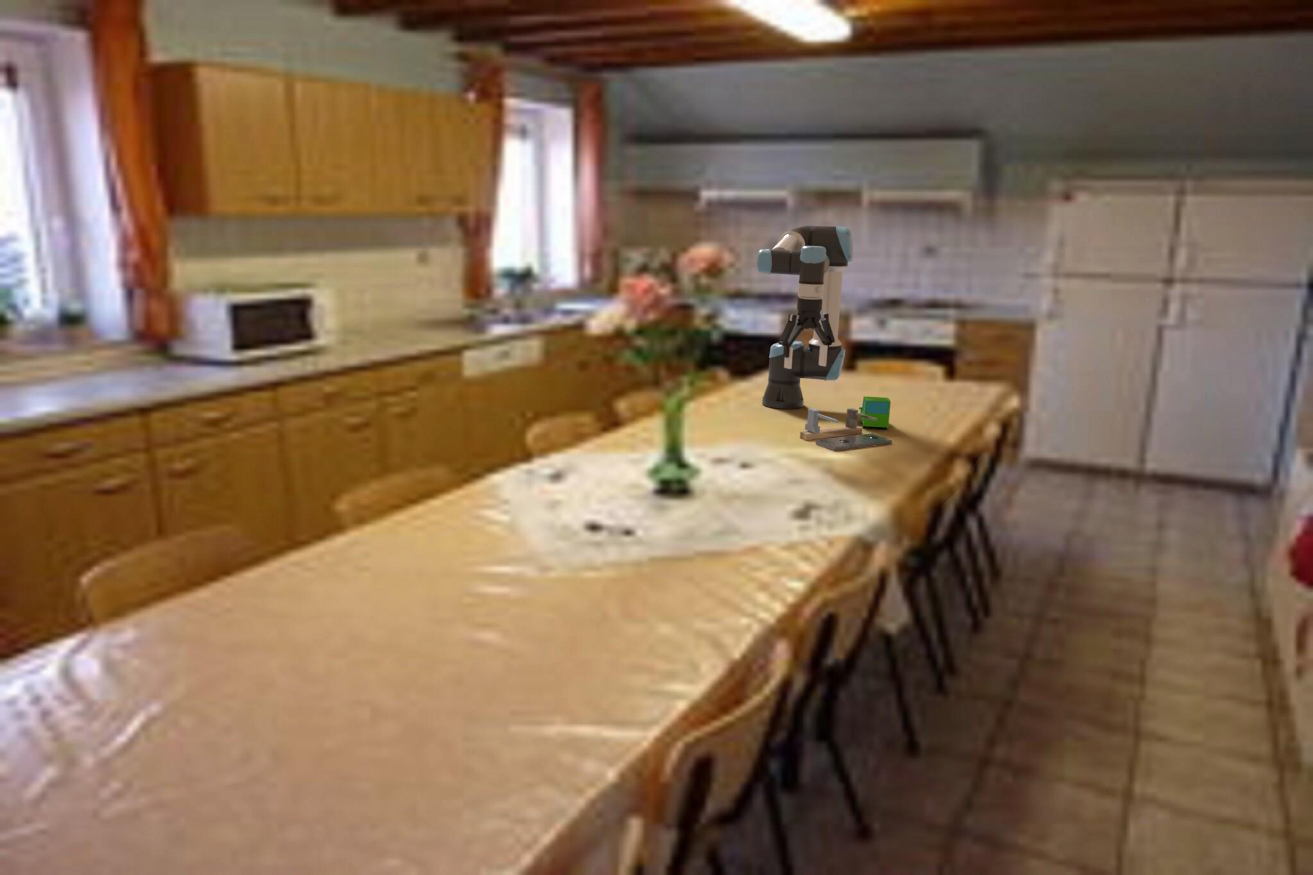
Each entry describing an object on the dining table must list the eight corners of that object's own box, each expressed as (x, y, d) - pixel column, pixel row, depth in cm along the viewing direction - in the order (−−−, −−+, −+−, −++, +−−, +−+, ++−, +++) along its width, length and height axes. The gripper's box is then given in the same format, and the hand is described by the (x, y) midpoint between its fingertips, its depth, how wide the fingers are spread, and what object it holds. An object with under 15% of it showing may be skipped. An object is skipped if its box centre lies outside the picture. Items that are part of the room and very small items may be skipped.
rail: (799, 438, 300) (801, 413, 298) (855, 431, 311) (857, 407, 309) (825, 447, 289) (827, 422, 287) (882, 440, 300) (885, 416, 298)
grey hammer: (804, 429, 302) (806, 408, 300) (809, 429, 303) (811, 407, 301) (832, 439, 290) (834, 417, 288) (838, 439, 291) (839, 417, 289)
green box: (885, 421, 326) (888, 393, 324) (891, 431, 313) (893, 401, 311) (856, 420, 327) (858, 392, 325) (860, 429, 314) (862, 400, 312)
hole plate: (815, 443, 293) (815, 440, 293) (872, 436, 304) (872, 433, 304) (834, 451, 286) (834, 447, 285) (891, 443, 297) (892, 439, 296)
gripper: (784, 300, 277) (780, 371, 282) (849, 298, 290) (844, 366, 295) (769, 297, 284) (765, 367, 289) (833, 295, 296) (828, 362, 301)
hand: (805, 367), depth 292 cm, fingers open, 13 cm apart
